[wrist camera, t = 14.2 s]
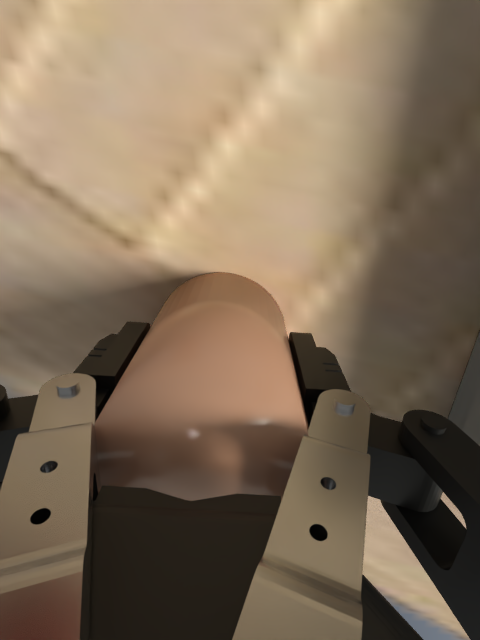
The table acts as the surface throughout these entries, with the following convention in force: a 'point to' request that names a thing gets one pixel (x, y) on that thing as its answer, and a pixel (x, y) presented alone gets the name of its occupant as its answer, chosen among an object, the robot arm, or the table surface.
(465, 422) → the gray tote
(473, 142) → the table surface
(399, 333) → the table surface
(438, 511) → the robot arm
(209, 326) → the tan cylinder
